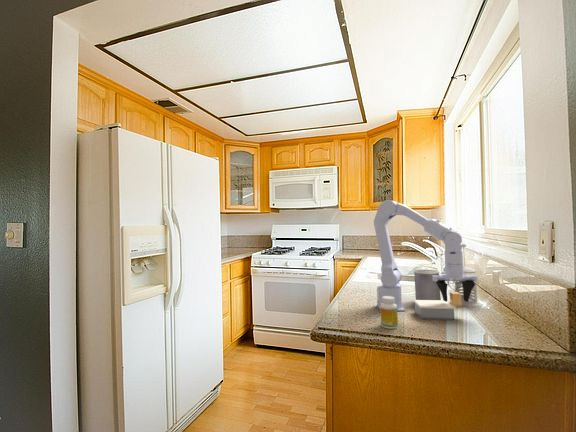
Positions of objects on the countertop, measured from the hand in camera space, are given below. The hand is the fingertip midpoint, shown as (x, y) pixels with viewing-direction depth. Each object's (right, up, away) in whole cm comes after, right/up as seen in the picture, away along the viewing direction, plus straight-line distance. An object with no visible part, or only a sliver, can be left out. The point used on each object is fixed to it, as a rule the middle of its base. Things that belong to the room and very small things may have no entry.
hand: (455, 301), depth 104 cm
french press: (+14, -6, +17) cm, 22 cm away
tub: (-7, -6, +1) cm, 9 cm away
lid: (-6, -2, +1) cm, 6 cm away
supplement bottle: (-27, -6, -8) cm, 29 cm away
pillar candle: (-2, -6, +17) cm, 19 cm away
